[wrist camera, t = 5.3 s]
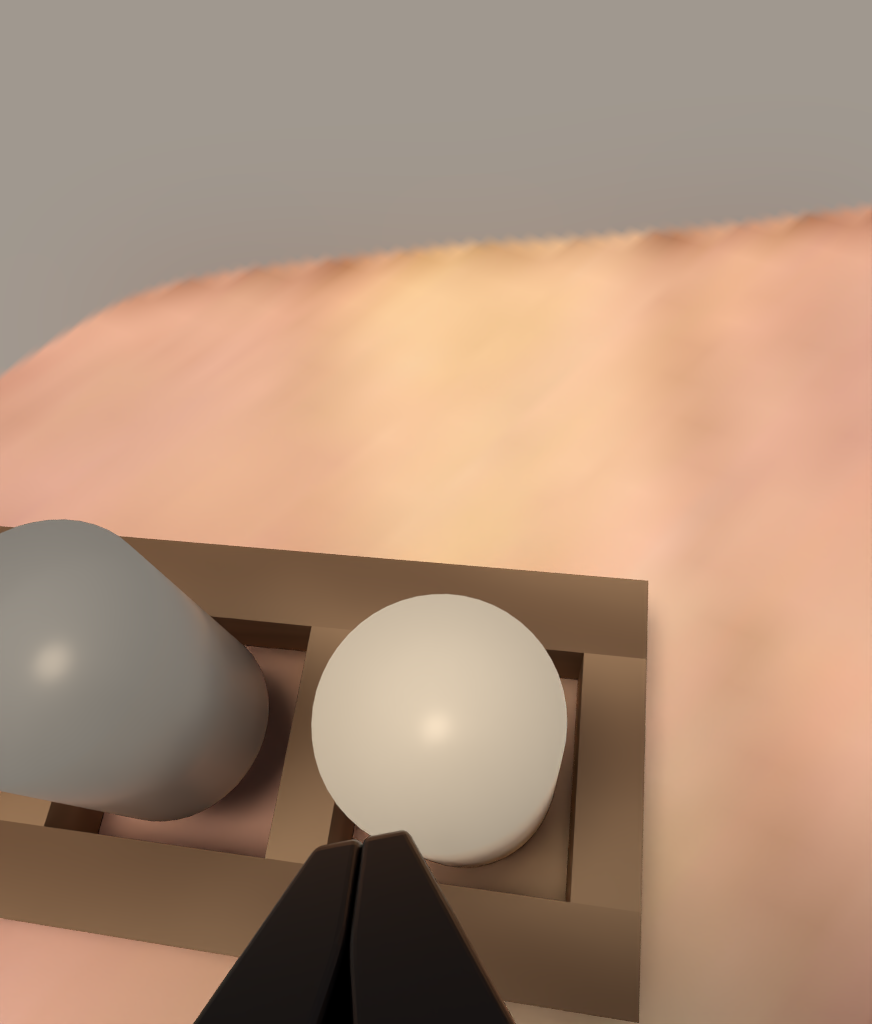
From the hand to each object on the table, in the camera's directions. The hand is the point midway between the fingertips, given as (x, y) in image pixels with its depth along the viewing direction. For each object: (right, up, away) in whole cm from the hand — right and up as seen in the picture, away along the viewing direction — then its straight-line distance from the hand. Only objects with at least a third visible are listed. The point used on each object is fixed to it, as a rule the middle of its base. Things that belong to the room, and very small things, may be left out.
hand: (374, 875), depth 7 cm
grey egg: (-5, -1, +11) cm, 12 cm away
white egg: (+1, -3, +12) cm, 12 cm away
